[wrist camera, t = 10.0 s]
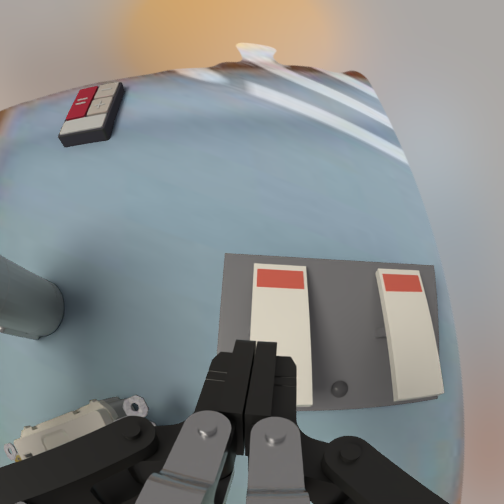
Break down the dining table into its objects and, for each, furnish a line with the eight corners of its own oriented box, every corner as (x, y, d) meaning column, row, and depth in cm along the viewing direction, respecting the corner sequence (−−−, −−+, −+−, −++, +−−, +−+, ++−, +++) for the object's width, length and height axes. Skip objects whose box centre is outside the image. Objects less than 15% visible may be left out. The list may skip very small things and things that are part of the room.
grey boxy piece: (198, 448, 36) (180, 474, 26) (60, 488, 32) (27, 506, 23) (157, 375, 39) (127, 381, 30) (29, 429, 36) (-9, 436, 26)
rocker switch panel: (219, 398, 39) (211, 410, 29) (228, 271, 45) (223, 246, 35) (409, 394, 39) (447, 399, 29) (407, 280, 45) (442, 260, 35)
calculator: (121, 79, 55) (102, 126, 49) (126, 93, 59) (109, 140, 53) (78, 88, 55) (55, 135, 49) (84, 101, 59) (63, 148, 53)
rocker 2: (393, 401, 27) (398, 399, 26) (375, 273, 37) (378, 268, 36) (439, 395, 27) (444, 392, 26) (415, 274, 37) (419, 270, 36)
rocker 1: (246, 405, 26) (246, 403, 26) (253, 268, 37) (254, 262, 36) (310, 406, 26) (312, 404, 26) (304, 271, 37) (306, 265, 36)
